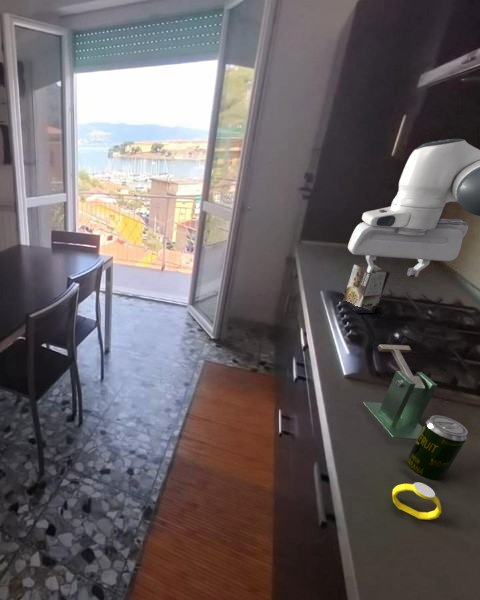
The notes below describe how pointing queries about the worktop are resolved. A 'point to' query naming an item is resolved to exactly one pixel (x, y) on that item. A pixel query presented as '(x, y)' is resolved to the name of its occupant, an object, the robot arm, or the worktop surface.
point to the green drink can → (436, 447)
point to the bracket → (403, 406)
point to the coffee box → (365, 286)
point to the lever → (403, 363)
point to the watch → (423, 492)
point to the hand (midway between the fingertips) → (391, 274)
